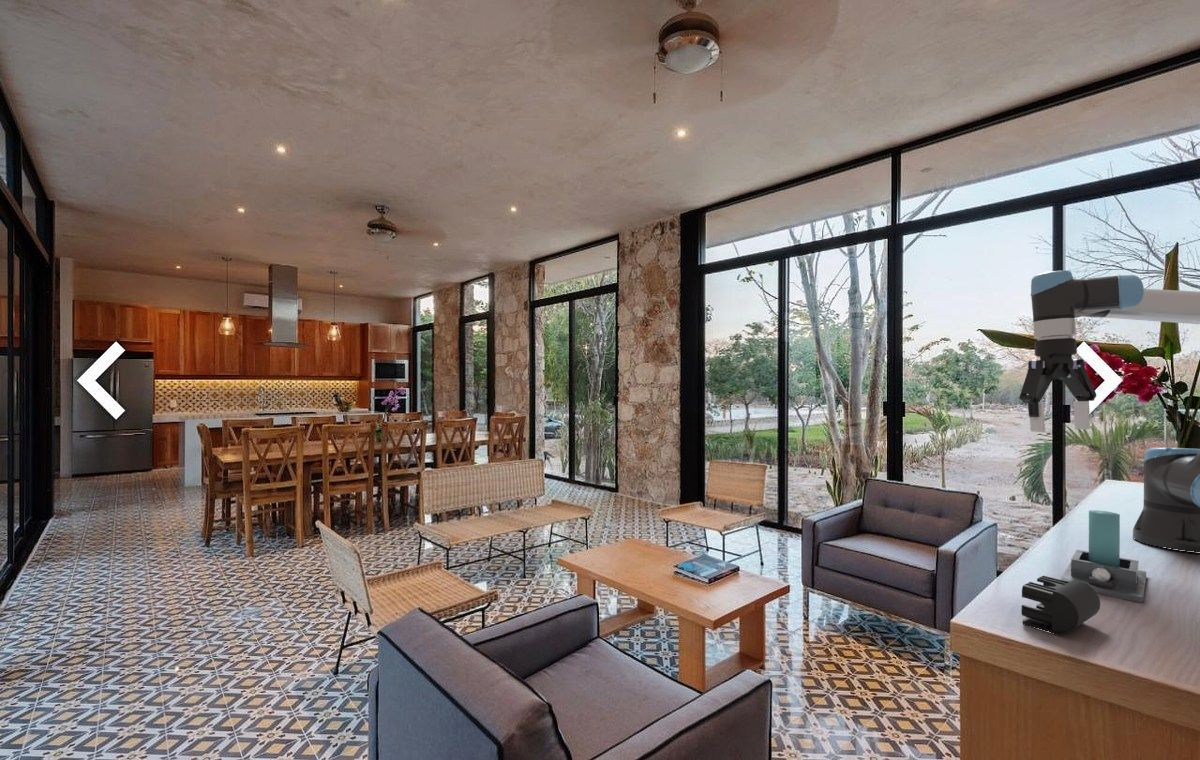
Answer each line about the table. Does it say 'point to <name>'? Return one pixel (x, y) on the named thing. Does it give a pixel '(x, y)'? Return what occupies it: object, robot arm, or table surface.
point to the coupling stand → (1108, 577)
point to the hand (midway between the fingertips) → (1060, 430)
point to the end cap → (1059, 604)
